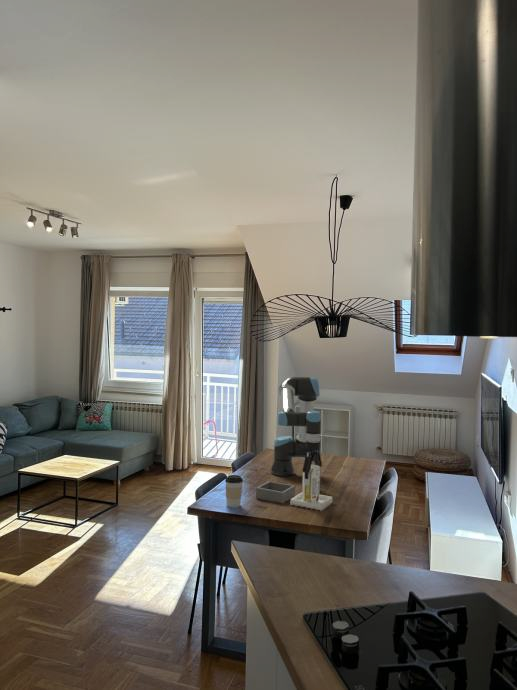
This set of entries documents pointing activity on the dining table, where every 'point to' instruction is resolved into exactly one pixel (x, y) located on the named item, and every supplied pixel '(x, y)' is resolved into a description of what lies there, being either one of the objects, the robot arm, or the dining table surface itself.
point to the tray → (320, 505)
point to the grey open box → (275, 491)
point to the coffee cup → (233, 490)
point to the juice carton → (312, 485)
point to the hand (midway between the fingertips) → (312, 481)
